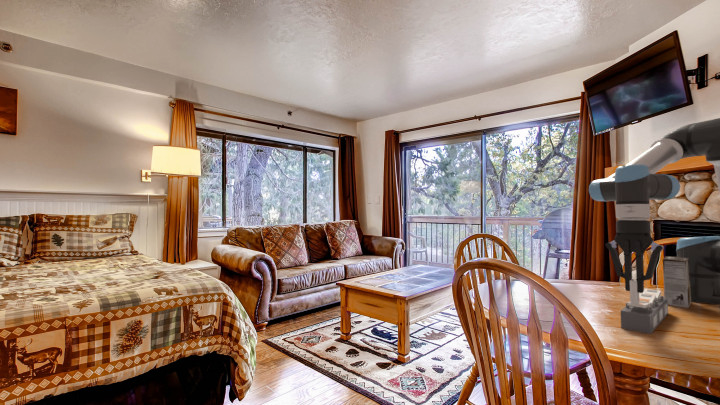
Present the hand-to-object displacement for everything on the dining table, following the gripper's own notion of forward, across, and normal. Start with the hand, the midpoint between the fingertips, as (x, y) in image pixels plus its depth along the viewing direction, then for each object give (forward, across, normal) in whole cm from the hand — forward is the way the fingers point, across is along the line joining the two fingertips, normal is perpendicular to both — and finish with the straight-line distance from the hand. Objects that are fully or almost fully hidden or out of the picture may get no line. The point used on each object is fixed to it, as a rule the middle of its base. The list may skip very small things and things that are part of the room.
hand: (634, 303), depth 94 cm
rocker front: (+1, 0, +4) cm, 4 cm away
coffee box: (+6, +4, +43) cm, 44 cm away
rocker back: (+1, 0, +21) cm, 21 cm away
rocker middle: (+1, 0, +13) cm, 13 cm away
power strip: (+7, 0, +13) cm, 15 cm away
